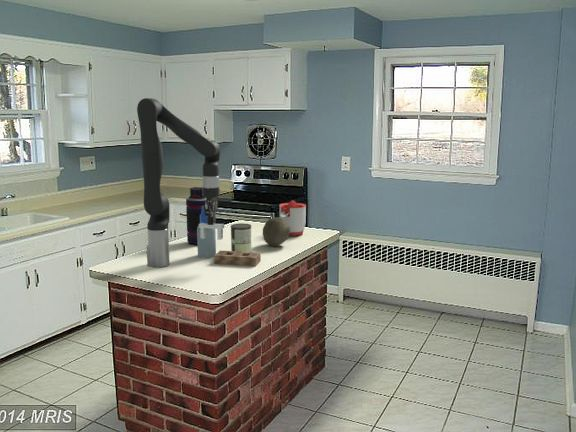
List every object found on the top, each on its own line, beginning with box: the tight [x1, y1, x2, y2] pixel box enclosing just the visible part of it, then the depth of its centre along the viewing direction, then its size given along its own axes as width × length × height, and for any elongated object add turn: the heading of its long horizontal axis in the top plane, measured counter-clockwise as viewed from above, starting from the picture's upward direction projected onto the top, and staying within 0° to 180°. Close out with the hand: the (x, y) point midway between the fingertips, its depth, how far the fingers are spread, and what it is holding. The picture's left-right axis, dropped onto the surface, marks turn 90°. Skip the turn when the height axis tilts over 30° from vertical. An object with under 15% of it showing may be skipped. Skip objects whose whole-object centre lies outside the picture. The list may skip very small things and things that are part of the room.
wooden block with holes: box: [213, 250, 262, 267], centre depth 258 cm, size 20×9×4 cm, turn 79°
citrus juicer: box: [279, 199, 307, 237], centre depth 315 cm, size 16×17×20 cm
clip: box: [199, 213, 225, 241], centre depth 247 cm, size 11×3×12 cm, turn 79°
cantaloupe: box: [262, 216, 290, 247], centre depth 289 cm, size 14×14×15 cm
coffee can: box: [230, 222, 252, 252], centre depth 274 cm, size 10×10×14 cm
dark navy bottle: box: [185, 186, 206, 245], centre depth 293 cm, size 14×12×30 cm
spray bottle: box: [197, 206, 217, 259], centre depth 267 cm, size 9×9×25 cm
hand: (211, 223), depth 247 cm, fingers closed on clip, 3 cm apart
